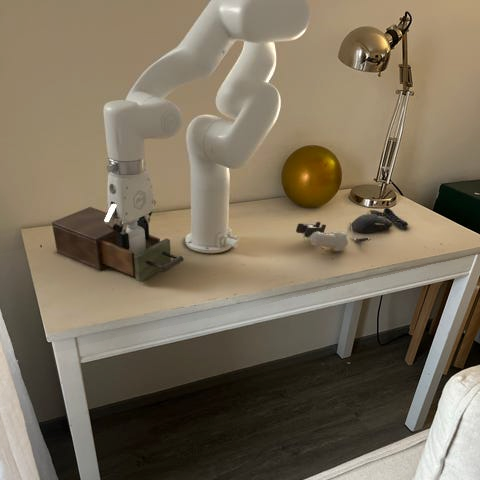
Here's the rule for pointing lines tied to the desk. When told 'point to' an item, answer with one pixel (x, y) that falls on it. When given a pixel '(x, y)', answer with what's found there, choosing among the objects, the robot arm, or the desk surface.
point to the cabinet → (82, 236)
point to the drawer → (138, 257)
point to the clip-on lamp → (326, 236)
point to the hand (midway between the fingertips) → (133, 242)
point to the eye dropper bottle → (136, 237)
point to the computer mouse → (376, 221)
